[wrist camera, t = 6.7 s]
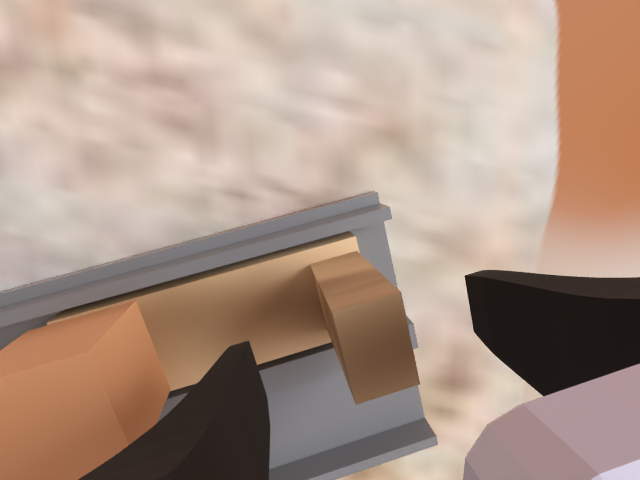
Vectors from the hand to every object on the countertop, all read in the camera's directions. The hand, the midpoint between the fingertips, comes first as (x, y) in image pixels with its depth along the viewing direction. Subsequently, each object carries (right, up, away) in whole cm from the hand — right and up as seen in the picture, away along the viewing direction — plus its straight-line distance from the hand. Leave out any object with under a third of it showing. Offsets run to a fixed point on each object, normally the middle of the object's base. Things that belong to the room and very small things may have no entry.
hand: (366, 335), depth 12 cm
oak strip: (-6, 0, +5) cm, 8 cm away
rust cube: (-10, -2, +3) cm, 11 cm away
